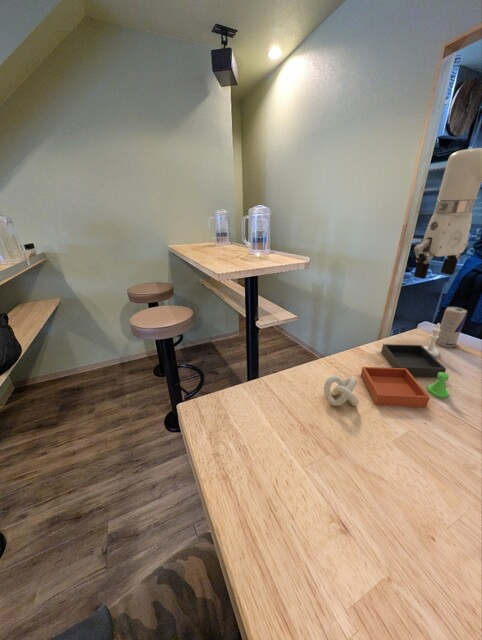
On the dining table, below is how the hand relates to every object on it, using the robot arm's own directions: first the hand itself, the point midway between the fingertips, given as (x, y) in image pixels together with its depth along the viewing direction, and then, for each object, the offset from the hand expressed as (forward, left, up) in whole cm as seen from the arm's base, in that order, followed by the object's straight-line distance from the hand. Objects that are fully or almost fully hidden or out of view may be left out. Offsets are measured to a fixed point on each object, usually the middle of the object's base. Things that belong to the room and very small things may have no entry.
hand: (433, 275), depth 70 cm
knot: (+27, +25, -24) cm, 44 cm away
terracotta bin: (+14, +20, -24) cm, 35 cm away
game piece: (+3, +20, -24) cm, 32 cm away
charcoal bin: (+4, +8, -24) cm, 26 cm away
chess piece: (-5, +1, -24) cm, 25 cm away
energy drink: (-13, -5, -24) cm, 28 cm away
